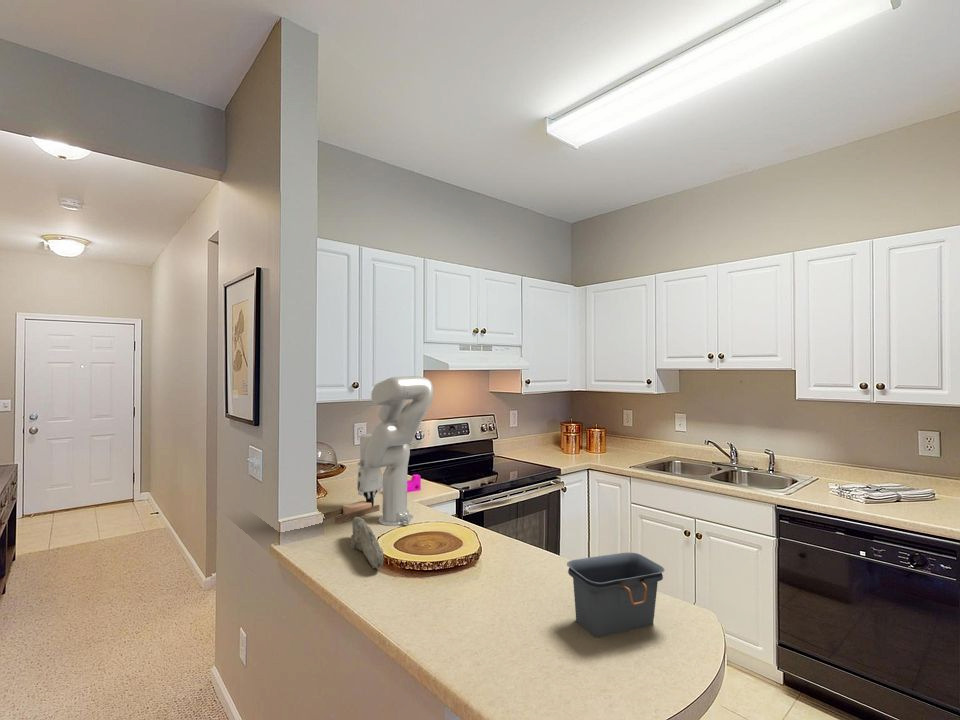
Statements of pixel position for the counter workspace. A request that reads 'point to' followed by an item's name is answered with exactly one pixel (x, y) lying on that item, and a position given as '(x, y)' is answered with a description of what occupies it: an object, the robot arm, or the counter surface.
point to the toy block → (414, 483)
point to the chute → (350, 515)
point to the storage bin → (614, 592)
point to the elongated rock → (366, 542)
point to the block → (356, 507)
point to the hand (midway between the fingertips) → (369, 507)
